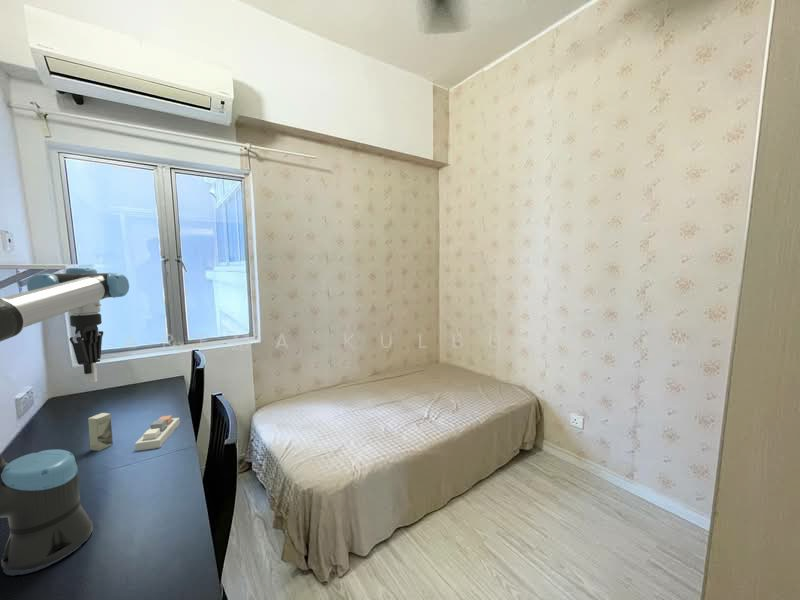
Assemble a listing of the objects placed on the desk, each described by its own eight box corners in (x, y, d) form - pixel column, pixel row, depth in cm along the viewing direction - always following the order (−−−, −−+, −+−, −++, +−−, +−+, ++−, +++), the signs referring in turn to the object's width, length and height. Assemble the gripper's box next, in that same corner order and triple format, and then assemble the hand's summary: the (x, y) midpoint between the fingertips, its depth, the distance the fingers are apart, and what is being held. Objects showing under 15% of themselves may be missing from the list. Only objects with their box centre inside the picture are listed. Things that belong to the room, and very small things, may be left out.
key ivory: (155, 440, 125) (155, 432, 124) (143, 442, 124) (143, 434, 123) (160, 435, 128) (159, 428, 128) (148, 437, 127) (148, 429, 127)
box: (99, 451, 121) (95, 419, 120) (90, 450, 122) (86, 418, 121) (114, 444, 126) (111, 413, 125) (105, 443, 127) (102, 412, 126)
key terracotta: (168, 426, 136) (168, 419, 136) (157, 427, 135) (157, 420, 135) (172, 422, 140) (172, 415, 140) (162, 423, 139) (161, 416, 139)
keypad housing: (160, 447, 123) (159, 440, 123) (135, 450, 121) (134, 443, 121) (179, 423, 143) (179, 417, 142) (159, 426, 140) (158, 419, 140)
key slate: (162, 431, 130) (161, 423, 130) (151, 432, 129) (150, 425, 129) (166, 426, 134) (166, 419, 134) (155, 427, 133) (154, 420, 133)
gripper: (86, 315, 102) (92, 387, 103) (110, 311, 114) (115, 375, 116) (56, 316, 100) (63, 389, 101) (85, 312, 112) (90, 377, 114)
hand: (91, 382), depth 109 cm, fingers closed
